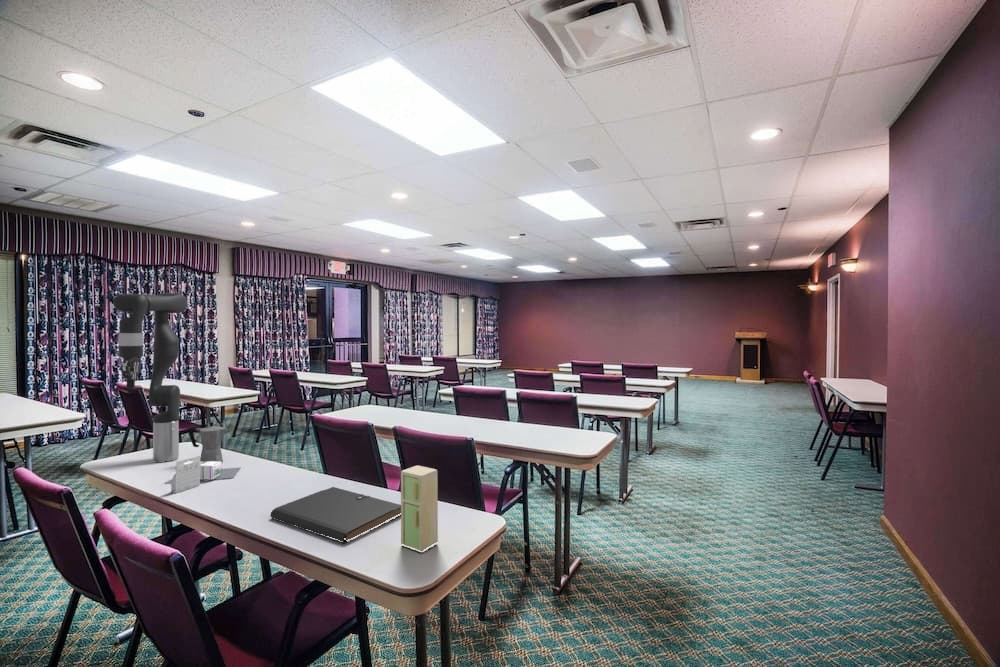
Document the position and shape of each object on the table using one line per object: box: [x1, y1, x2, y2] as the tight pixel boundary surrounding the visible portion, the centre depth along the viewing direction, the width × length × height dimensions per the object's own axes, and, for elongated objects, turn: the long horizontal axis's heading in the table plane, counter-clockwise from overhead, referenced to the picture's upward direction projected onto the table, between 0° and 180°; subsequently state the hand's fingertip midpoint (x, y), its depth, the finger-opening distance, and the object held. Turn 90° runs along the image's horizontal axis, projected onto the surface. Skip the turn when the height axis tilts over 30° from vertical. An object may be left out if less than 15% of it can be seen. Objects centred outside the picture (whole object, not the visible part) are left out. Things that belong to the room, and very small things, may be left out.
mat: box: [200, 466, 241, 482], centre depth 186 cm, size 18×14×1 cm
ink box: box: [170, 455, 201, 494], centre depth 170 cm, size 3×9×12 cm, turn 160°
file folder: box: [269, 486, 401, 543], centre depth 147 cm, size 33×4×24 cm
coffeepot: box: [188, 421, 229, 463], centre depth 202 cm, size 15×9×18 cm, turn 103°
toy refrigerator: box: [400, 465, 439, 551], centre depth 128 cm, size 8×7×21 cm
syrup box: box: [184, 460, 223, 481], centre depth 182 cm, size 6×6×14 cm
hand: (130, 388), depth 182 cm, fingers closed
